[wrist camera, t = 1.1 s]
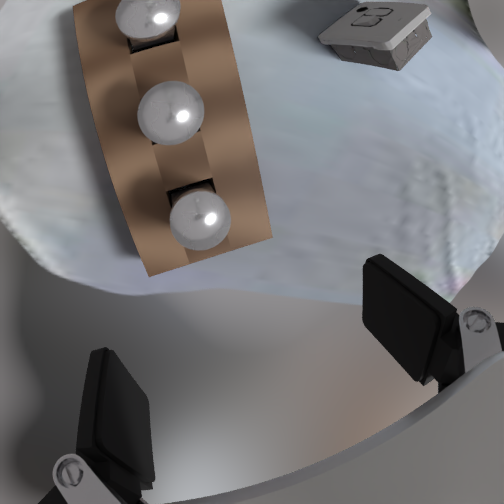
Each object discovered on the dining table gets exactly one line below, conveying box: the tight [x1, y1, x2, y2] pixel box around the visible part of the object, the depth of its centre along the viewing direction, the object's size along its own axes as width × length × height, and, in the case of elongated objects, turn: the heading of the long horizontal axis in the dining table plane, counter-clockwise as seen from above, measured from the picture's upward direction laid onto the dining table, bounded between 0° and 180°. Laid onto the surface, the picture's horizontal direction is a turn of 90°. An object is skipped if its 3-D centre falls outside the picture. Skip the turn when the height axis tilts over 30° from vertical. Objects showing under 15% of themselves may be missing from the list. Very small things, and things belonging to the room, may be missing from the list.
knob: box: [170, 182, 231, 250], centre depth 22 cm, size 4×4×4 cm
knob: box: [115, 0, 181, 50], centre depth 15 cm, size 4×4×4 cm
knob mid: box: [137, 81, 204, 145], centre depth 19 cm, size 4×4×4 cm
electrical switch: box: [318, 2, 432, 71], centre depth 20 cm, size 9×5×9 cm, turn 137°
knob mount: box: [73, 0, 273, 277], centre depth 22 cm, size 26×12×4 cm, turn 12°
